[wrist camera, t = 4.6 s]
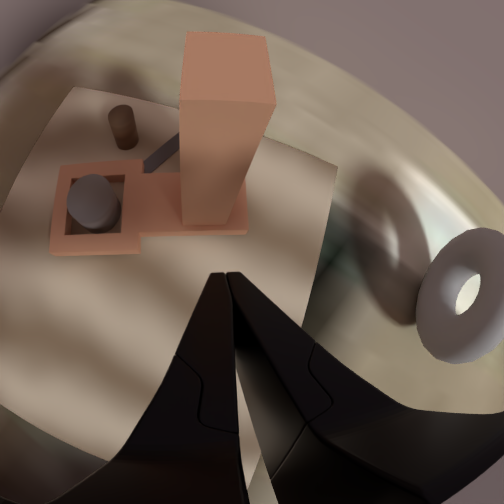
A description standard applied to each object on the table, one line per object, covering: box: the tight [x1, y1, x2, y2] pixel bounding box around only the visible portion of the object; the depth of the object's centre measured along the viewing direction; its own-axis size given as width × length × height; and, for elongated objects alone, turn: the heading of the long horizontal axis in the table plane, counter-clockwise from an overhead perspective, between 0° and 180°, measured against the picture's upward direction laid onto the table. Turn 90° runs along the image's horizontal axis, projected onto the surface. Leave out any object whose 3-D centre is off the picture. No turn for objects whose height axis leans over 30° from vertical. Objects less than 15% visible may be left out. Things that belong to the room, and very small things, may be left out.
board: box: [0, 86, 338, 489], centre depth 16 cm, size 24×22×4 cm
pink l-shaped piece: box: [49, 32, 276, 256], centre depth 12 cm, size 12×6×11 cm, turn 94°
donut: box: [416, 228, 504, 364], centre depth 17 cm, size 10×4×10 cm, turn 156°
